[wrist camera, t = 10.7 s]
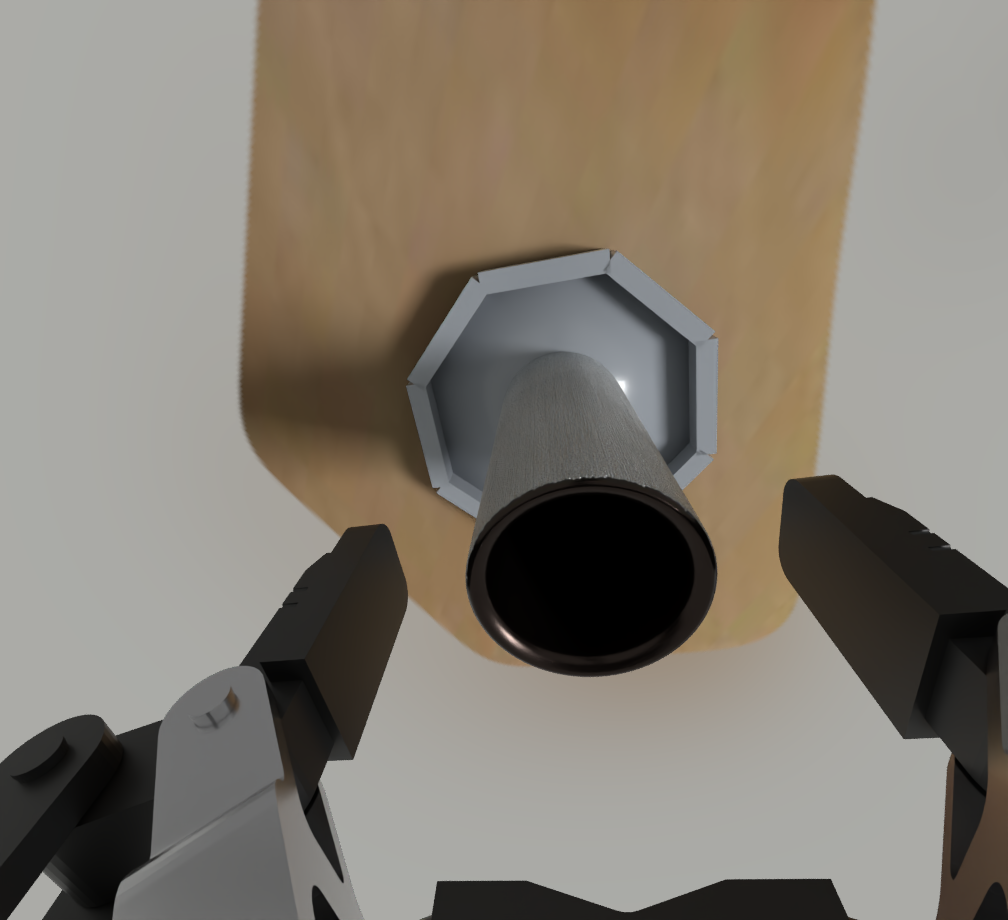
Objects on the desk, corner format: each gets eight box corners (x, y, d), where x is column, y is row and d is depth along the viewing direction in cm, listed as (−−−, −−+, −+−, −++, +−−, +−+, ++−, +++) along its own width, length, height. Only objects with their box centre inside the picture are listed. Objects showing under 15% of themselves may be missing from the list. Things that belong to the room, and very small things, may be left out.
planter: (645, 423, 18) (765, 617, 8) (547, 484, 19) (556, 710, 10) (579, 324, 16) (634, 425, 7) (479, 397, 18) (413, 563, 8)
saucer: (392, 287, 17) (381, 290, 16) (704, 230, 15) (719, 228, 14) (455, 537, 21) (450, 556, 20) (703, 510, 20) (715, 529, 18)
